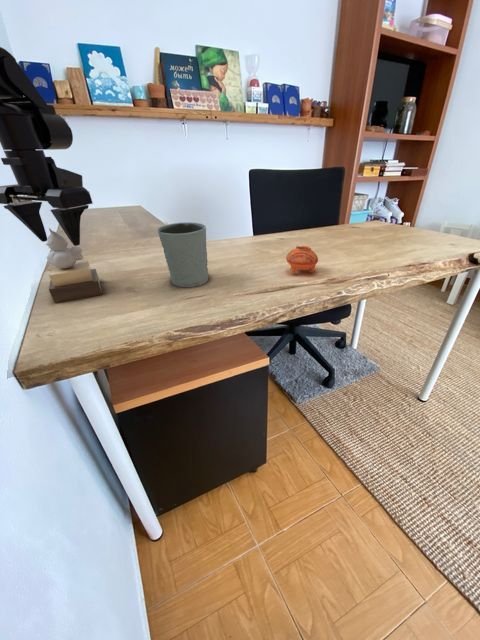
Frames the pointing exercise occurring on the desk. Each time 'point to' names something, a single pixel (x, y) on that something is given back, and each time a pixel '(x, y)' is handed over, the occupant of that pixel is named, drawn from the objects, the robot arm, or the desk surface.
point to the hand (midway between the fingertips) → (60, 243)
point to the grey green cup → (185, 253)
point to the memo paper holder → (74, 282)
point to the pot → (302, 259)
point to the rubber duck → (62, 252)
